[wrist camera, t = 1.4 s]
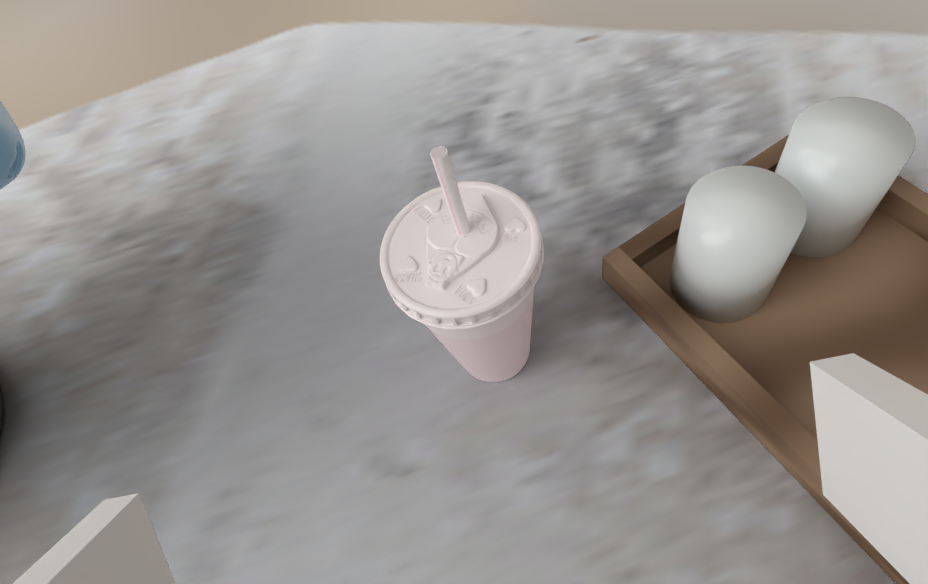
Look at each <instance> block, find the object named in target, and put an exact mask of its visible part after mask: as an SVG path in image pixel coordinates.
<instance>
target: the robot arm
mask: <svg viewBox="0 0 928 584" xmlns="http://www.w3.org/2000/svg"><path fill="white" fill-rule="evenodd" d="M24 162H25V145H24V141H23V139H22V136H21V134H20V132H19V129H18V128H17V126H16V124H15V123H14V121H13V119H12V117H11V116H10V115H9V113H8V111H7V110H6V108H5V107H4V106H3V104H2V103H1V102H0V190H1V189H2V188H3V187H5V186H6V185H7V184H9V183H10V182H11V181H13V180H14V179H15V178H16V177H17V175H18V174H19V173H20V171H21V170H22V168H23V165H24ZM810 371H811V381H812V391H813V401H814V411H815V421H816V431H817V441H818V450H819V460H820V470H821V480H822V490H823V495H824V496H825V497H826V498H827V499H828V500H829V501H830V502H831V503H832V504H833V505H834V506H835V507H836V508H837V509H838V510H839V512H840V513H841V514H842V515H843V516H844V517H845V518H846V519H847V520H848V521H849V522H850V523H851V524H852V525H853V526H854V527H855V528H856V529H857V530H858V531H859V532H860V533H861V534H862V535H863V536H864V537H865V538H866V539H867V540H868V541H869V542H870V543H871V544H872V545H873V546H874V548H875V549H876V550H877V551H878V552H879V553H880V554H881V555H882V556H883V557H884V558H885V559H886V560H887V561H888V562H889V563H890V564H891V565H892V566H893V567H894V568H895V569H896V570H897V571H898V572H899V573H900V574H901V575H902V576H903V577H904V578H905V579H906V580H907V581H908V583H909V584H928V394H926V393H924V392H922V391H920V390H919V389H917V388H915V387H913V386H911V385H910V384H908V383H906V382H904V381H903V380H901V379H899V378H897V377H895V376H894V375H892V374H890V373H888V372H886V371H885V370H883V369H881V368H879V367H877V366H876V365H874V364H872V363H870V362H868V361H867V360H865V359H863V358H861V357H859V356H858V355H856V354H854V353H852V354H847V355H842V356H836V357H831V358H826V359H821V360H816V361H811V362H810ZM2 415H3V404H2V396H1V390H0V432H1V425H2ZM13 584H176V583H175V580H174V578H173V575H172V573H171V570H170V568H169V565H168V563H167V561H166V558H165V556H164V553H163V551H162V548H161V546H160V543H159V541H158V539H157V536H156V534H155V531H154V529H153V526H152V524H151V521H150V519H149V517H148V514H147V512H146V509H145V507H144V504H143V502H142V499H141V497H140V494H139V493H136V494H131V495H126V496H121V497H116V498H111V499H105V500H103V501H102V502H101V503H100V504H99V505H98V506H97V507H96V508H94V509H93V510H92V511H91V512H90V513H89V514H88V515H87V516H86V517H85V518H84V519H82V520H81V521H80V522H79V523H78V524H77V525H76V526H75V527H74V528H73V529H72V530H70V531H69V532H68V533H67V534H66V535H65V536H64V537H63V538H62V539H61V540H60V541H58V542H57V543H56V544H55V545H54V546H53V547H52V548H51V549H50V550H49V551H48V552H46V553H45V554H44V555H43V556H42V557H41V558H40V559H39V560H38V561H37V562H36V563H34V564H33V565H32V566H31V567H30V568H29V569H28V570H27V571H26V572H25V573H24V574H22V575H21V576H20V577H19V578H18V579H17V580H16V581H15V582H14V583H13Z"/></svg>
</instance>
